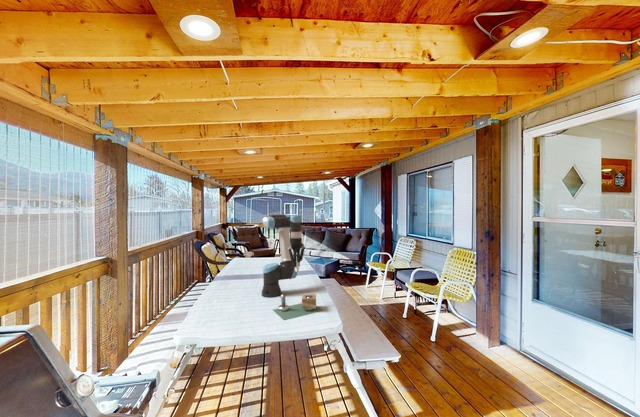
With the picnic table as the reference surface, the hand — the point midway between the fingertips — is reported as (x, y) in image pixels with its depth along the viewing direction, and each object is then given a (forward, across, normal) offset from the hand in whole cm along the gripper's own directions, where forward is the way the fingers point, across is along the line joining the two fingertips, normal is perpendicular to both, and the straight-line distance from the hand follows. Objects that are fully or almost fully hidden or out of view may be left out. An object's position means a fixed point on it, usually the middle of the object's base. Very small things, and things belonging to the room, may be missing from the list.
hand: (296, 271), depth 199 cm
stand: (+23, -12, -4) cm, 26 cm away
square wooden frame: (+21, +3, -12) cm, 24 cm away
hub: (+23, +3, -12) cm, 26 cm away
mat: (+23, -5, -10) cm, 26 cm away
